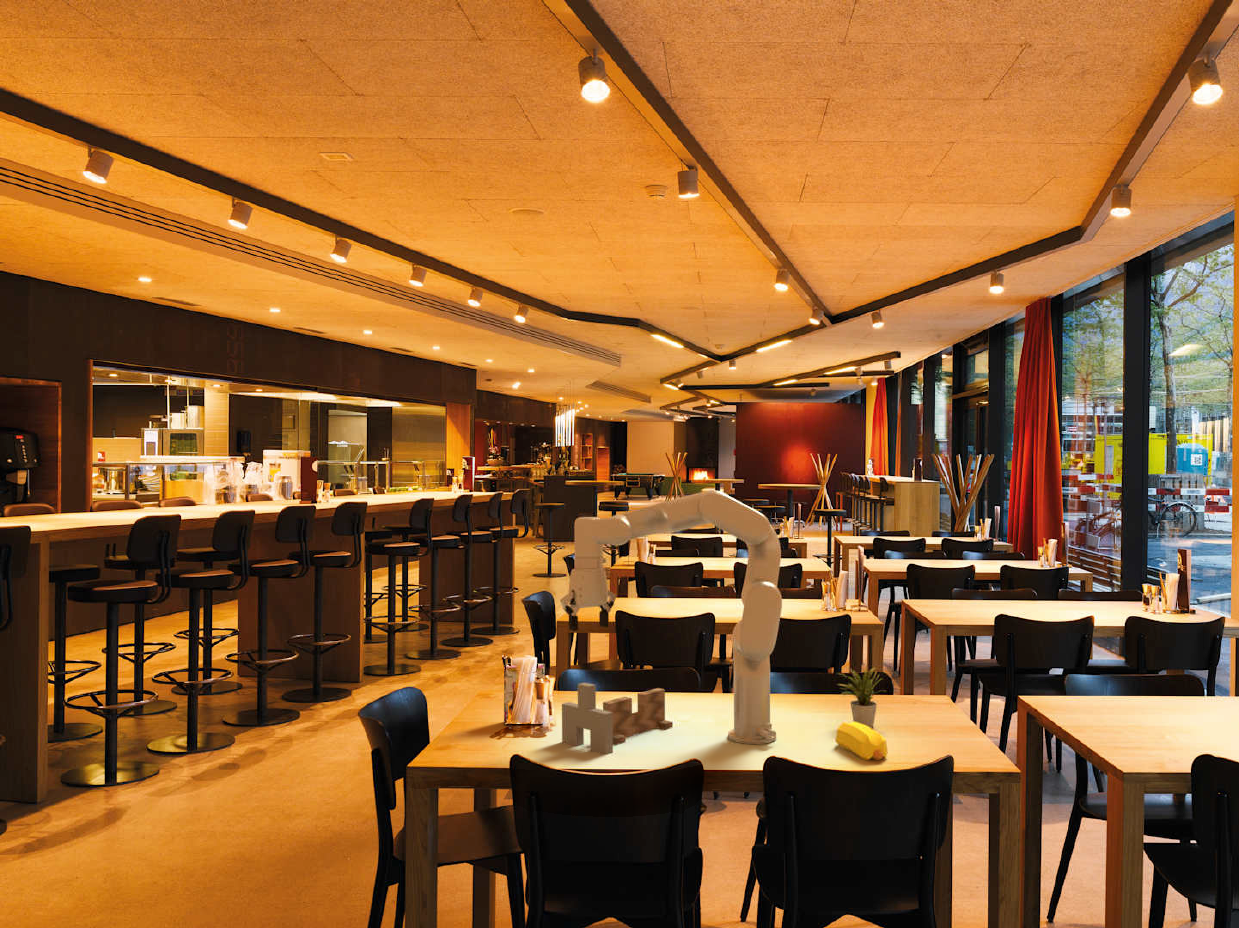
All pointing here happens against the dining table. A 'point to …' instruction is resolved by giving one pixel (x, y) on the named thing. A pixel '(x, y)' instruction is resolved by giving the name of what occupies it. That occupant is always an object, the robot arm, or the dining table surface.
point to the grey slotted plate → (587, 721)
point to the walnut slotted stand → (637, 714)
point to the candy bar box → (511, 683)
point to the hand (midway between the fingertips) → (588, 628)
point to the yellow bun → (861, 741)
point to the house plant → (863, 697)
